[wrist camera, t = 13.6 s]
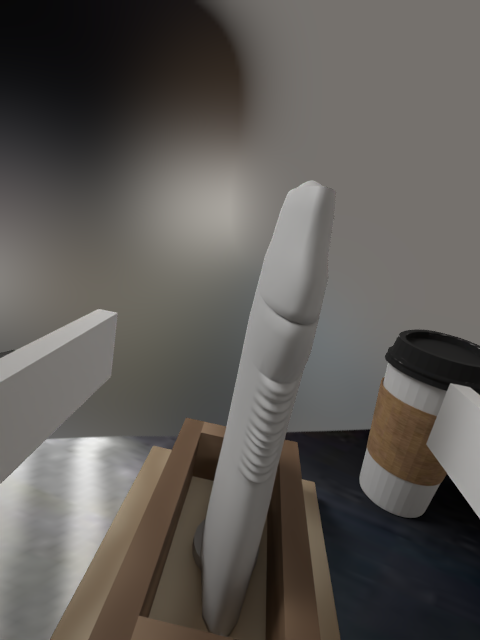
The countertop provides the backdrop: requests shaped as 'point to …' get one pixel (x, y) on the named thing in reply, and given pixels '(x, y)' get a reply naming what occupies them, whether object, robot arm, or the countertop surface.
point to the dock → (179, 565)
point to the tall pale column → (263, 401)
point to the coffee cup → (413, 418)
